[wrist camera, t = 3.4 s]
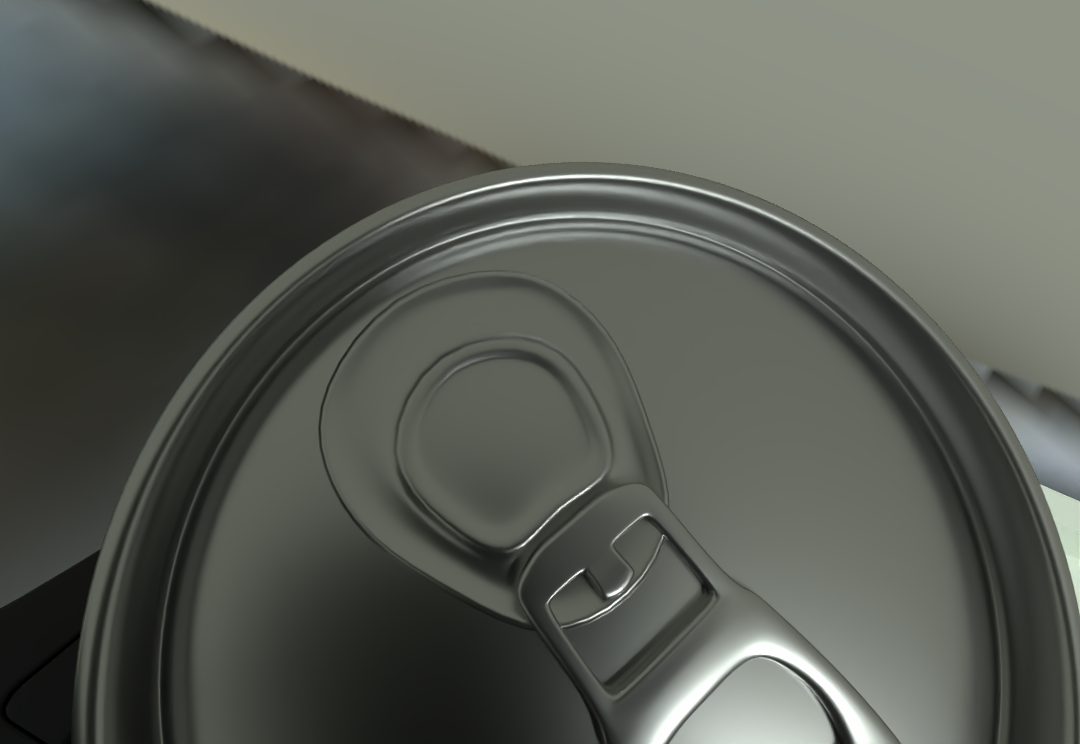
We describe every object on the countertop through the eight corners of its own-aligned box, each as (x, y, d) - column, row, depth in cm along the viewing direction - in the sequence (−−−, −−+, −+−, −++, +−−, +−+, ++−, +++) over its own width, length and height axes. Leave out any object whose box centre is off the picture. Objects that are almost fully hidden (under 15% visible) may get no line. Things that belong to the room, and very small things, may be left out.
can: (518, 362, 16) (676, -40, 4) (664, 544, 15) (1336, 672, 3) (322, 509, 14) (-323, 522, 2) (476, 720, 13) (563, 2075, 2)
